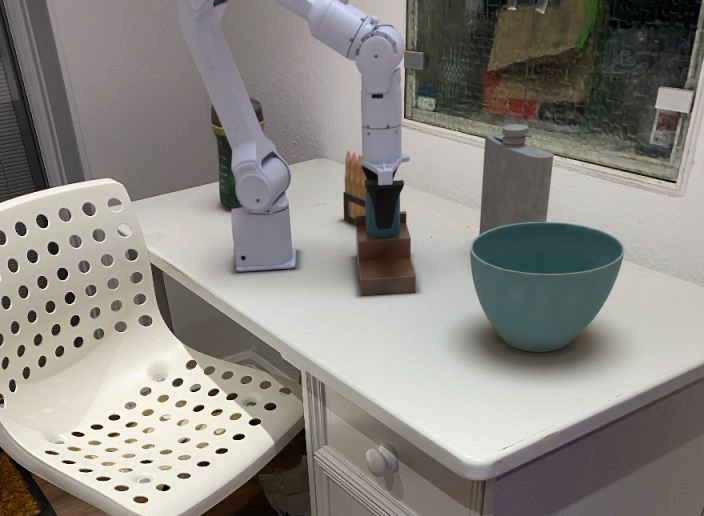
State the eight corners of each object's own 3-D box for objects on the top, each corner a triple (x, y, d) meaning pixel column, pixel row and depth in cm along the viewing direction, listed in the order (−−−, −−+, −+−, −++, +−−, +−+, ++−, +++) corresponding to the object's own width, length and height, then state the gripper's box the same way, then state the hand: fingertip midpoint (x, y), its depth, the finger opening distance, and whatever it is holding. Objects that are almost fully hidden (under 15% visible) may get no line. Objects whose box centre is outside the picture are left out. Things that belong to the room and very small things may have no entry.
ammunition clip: (385, 233, 141) (385, 160, 134) (376, 236, 140) (375, 163, 133) (352, 218, 149) (349, 148, 141) (343, 220, 148) (340, 150, 141)
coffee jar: (231, 214, 154) (217, 107, 143) (216, 204, 160) (202, 100, 148) (277, 204, 157) (268, 99, 146) (261, 194, 163) (251, 92, 152)
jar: (367, 238, 124) (366, 198, 120) (365, 227, 128) (364, 187, 125) (401, 236, 124) (401, 196, 120) (398, 225, 128) (398, 185, 124)
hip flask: (544, 278, 122) (560, 135, 110) (520, 283, 121) (533, 140, 109) (492, 245, 134) (501, 112, 122) (470, 249, 133) (477, 116, 121)
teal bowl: (439, 327, 111) (442, 238, 103) (550, 298, 116) (561, 211, 109) (517, 384, 98) (527, 286, 90) (639, 349, 103) (658, 253, 95)
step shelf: (361, 295, 121) (360, 249, 117) (356, 257, 133) (355, 214, 129) (415, 292, 121) (416, 245, 116) (405, 254, 133) (405, 211, 129)
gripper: (414, 135, 111) (413, 234, 119) (404, 111, 122) (404, 203, 131) (362, 138, 111) (365, 237, 119) (357, 114, 122) (360, 206, 131)
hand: (382, 220), depth 125 cm, fingers open, 7 cm apart
